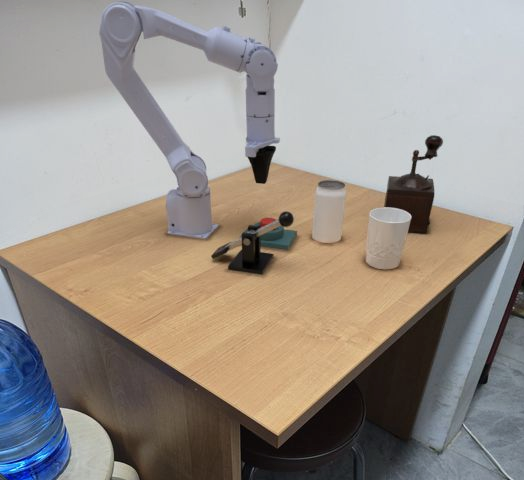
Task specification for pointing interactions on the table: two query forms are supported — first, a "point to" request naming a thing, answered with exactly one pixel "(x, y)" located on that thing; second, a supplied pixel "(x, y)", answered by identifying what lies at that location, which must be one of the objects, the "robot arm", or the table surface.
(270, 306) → the table surface
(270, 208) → the table surface
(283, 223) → the lever
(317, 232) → the can
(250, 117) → the robot arm
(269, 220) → the button
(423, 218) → the brown coffee grinder
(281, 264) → the table surface
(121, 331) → the table surface
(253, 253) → the bracket
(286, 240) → the button block
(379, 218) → the white cup
